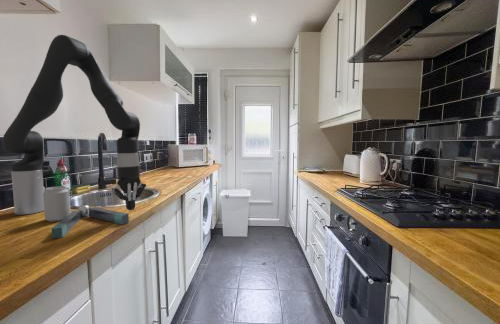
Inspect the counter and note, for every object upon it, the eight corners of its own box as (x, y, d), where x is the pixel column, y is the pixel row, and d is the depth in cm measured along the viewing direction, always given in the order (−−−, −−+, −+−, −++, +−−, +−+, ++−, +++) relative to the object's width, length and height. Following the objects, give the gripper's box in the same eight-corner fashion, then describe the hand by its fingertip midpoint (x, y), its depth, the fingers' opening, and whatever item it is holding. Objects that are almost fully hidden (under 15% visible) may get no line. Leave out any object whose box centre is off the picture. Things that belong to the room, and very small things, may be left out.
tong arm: (89, 216, 91) (88, 208, 91) (95, 214, 93) (95, 206, 93) (122, 224, 82) (121, 215, 81) (128, 222, 84) (128, 213, 84)
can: (73, 215, 93) (71, 184, 92) (67, 220, 87) (65, 188, 86) (49, 217, 91) (47, 186, 90) (41, 223, 84) (38, 189, 83)
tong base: (76, 216, 92) (75, 206, 91) (90, 215, 93) (89, 204, 93) (52, 238, 70) (51, 225, 70) (70, 236, 72) (70, 223, 71)
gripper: (139, 163, 98) (141, 204, 99) (105, 166, 87) (107, 212, 88) (150, 164, 94) (152, 207, 95) (116, 167, 83) (118, 215, 84)
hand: (130, 209), depth 92 cm, fingers closed
